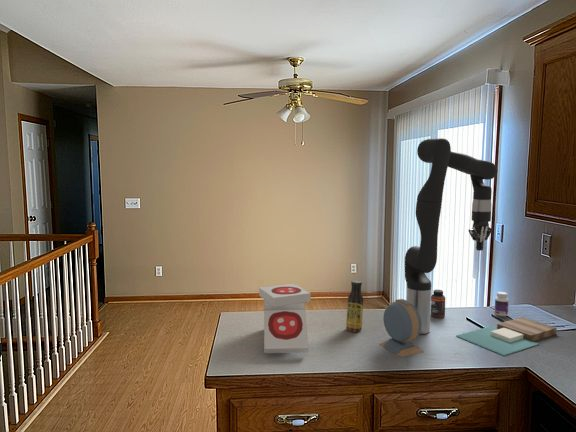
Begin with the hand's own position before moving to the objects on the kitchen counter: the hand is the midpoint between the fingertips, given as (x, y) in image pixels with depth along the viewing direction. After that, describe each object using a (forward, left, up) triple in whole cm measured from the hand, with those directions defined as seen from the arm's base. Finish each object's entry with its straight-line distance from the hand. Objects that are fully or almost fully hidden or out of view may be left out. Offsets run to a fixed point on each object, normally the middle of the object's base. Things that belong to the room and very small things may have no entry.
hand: (479, 250), depth 187 cm
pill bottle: (+11, -4, -29) cm, 31 cm away
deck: (+1, -22, -29) cm, 36 cm away
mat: (-17, -22, -29) cm, 40 cm away
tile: (-11, -22, -28) cm, 37 cm away
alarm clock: (-53, -10, -29) cm, 61 cm away
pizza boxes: (-87, +15, -29) cm, 93 cm away
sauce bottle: (-57, +12, -29) cm, 65 cm away
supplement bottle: (-15, +8, -29) cm, 34 cm away
